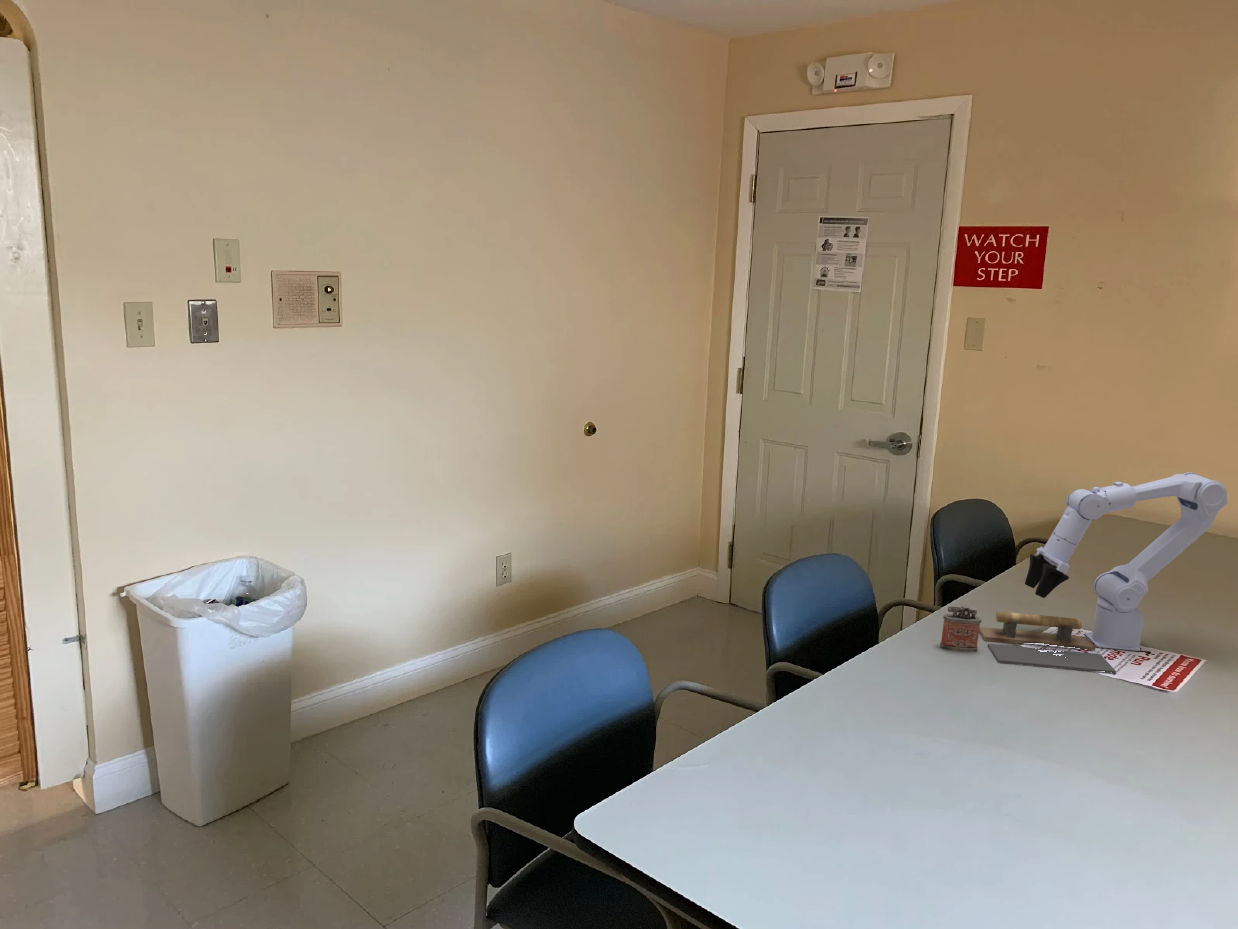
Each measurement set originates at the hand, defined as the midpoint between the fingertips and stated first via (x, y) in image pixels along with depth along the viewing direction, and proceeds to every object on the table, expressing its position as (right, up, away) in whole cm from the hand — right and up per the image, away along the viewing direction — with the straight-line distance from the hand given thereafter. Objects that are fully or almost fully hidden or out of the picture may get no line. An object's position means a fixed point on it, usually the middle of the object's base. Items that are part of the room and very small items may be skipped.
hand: (1034, 591), depth 207 cm
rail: (+1, -8, +1) cm, 8 cm away
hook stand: (+1, -12, +2) cm, 12 cm away
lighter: (-19, -12, -4) cm, 23 cm away
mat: (0, -14, -8) cm, 16 cm away
